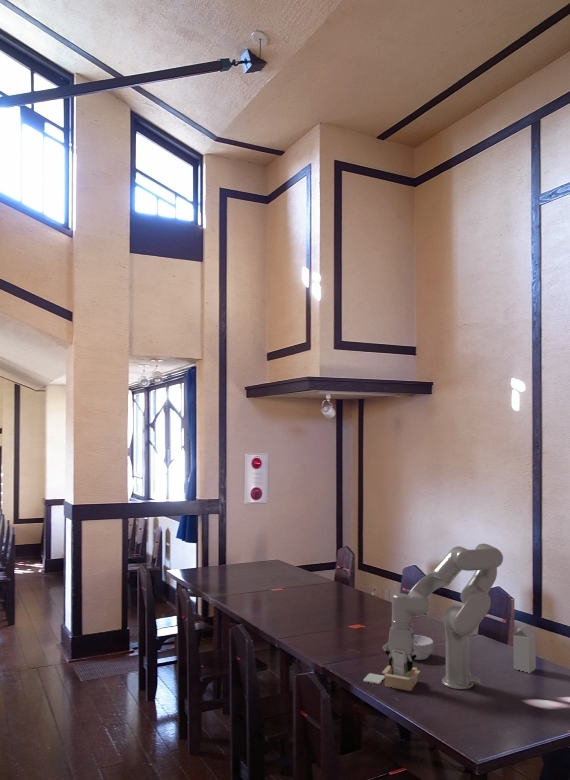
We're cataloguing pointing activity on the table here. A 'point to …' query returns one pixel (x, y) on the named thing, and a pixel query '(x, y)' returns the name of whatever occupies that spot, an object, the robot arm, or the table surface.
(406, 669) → the syrup box
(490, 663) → the table surface
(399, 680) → the carton
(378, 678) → the plate
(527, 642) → the milk carton
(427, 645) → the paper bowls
